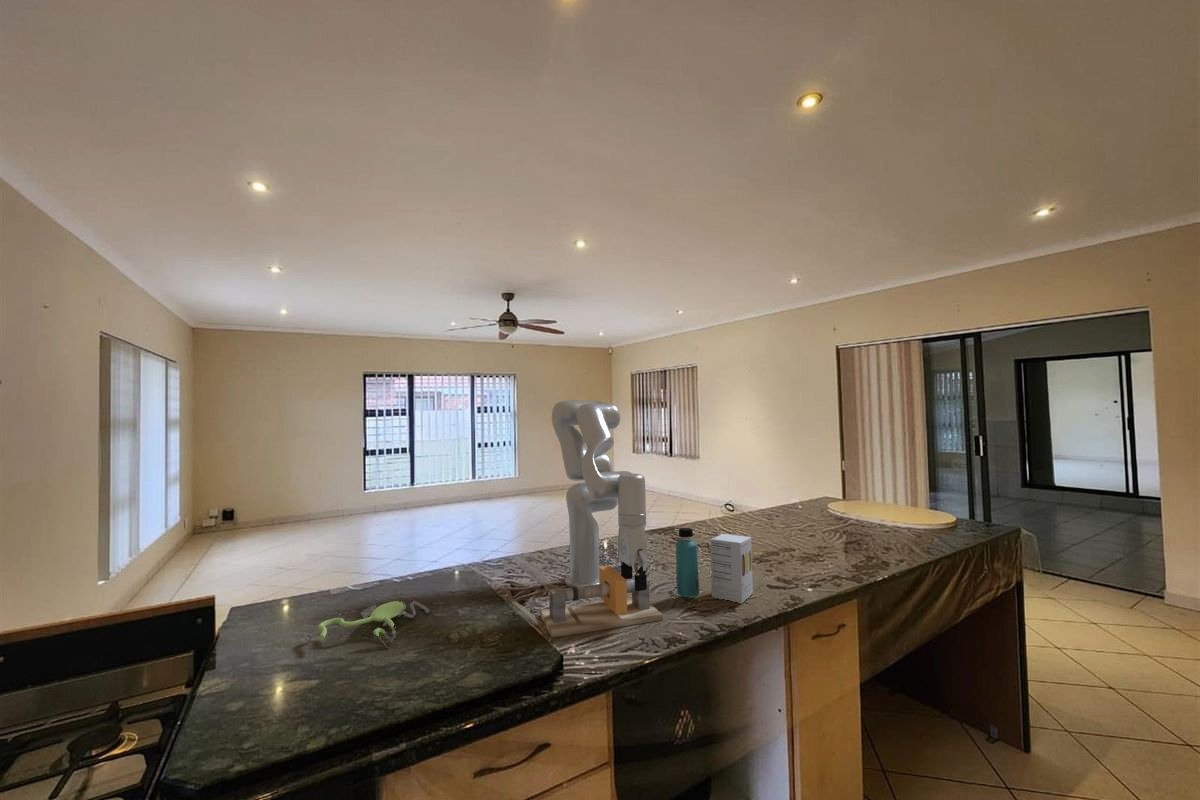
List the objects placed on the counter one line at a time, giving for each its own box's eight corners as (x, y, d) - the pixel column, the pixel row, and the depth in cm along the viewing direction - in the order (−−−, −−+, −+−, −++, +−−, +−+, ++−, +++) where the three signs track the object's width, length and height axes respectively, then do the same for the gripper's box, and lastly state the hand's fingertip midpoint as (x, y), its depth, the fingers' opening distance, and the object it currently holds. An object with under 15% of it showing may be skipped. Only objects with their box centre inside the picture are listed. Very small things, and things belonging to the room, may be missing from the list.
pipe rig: (540, 615, 122) (540, 582, 123) (640, 601, 131) (640, 570, 132) (551, 637, 109) (551, 600, 109) (662, 620, 118) (661, 585, 118)
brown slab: (599, 596, 127) (599, 567, 127) (609, 595, 128) (609, 565, 128) (615, 614, 115) (615, 581, 115) (627, 612, 116) (626, 580, 116)
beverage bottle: (699, 603, 129) (697, 531, 130) (675, 602, 130) (674, 530, 131) (699, 595, 135) (697, 526, 136) (676, 593, 136) (675, 525, 138)
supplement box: (742, 605, 127) (740, 543, 128) (711, 598, 133) (709, 538, 134) (753, 594, 135) (751, 536, 136) (723, 588, 140) (722, 532, 141)
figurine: (303, 654, 103) (304, 629, 104) (374, 608, 130) (375, 588, 130) (380, 657, 101) (381, 631, 102) (437, 610, 128) (437, 589, 128)
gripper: (608, 515, 131) (609, 576, 130) (631, 527, 115) (632, 597, 114) (632, 513, 134) (634, 573, 133) (658, 524, 117) (660, 593, 116)
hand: (633, 584), depth 123 cm, fingers open, 9 cm apart
